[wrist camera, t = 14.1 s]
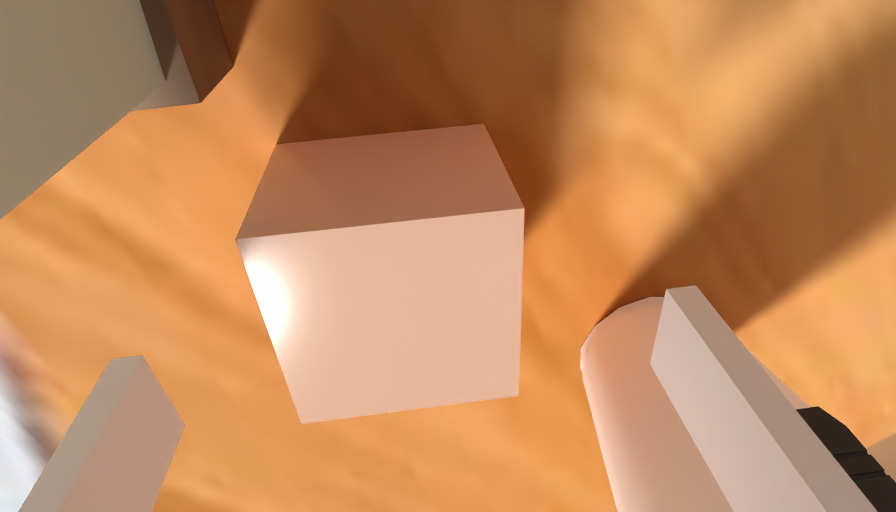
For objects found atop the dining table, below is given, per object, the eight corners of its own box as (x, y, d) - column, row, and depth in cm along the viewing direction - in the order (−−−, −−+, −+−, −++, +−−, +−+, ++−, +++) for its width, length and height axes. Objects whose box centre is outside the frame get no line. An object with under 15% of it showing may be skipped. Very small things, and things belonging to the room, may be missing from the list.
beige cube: (319, 302, 21) (301, 423, 16) (276, 142, 17) (235, 239, 12) (486, 283, 21) (518, 395, 17) (483, 122, 17) (524, 208, 12)
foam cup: (607, 247, 21) (846, 601, 10) (780, 288, 23) (1117, 607, 13) (518, 399, 26) (619, 747, 15) (669, 420, 28) (847, 731, 18)
